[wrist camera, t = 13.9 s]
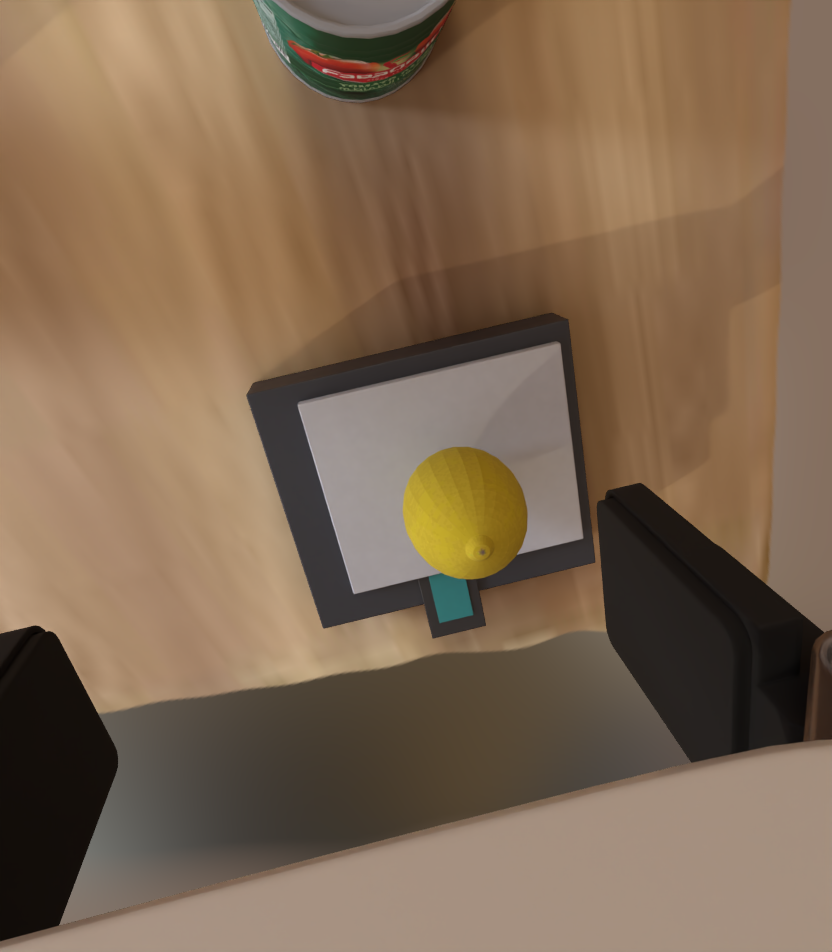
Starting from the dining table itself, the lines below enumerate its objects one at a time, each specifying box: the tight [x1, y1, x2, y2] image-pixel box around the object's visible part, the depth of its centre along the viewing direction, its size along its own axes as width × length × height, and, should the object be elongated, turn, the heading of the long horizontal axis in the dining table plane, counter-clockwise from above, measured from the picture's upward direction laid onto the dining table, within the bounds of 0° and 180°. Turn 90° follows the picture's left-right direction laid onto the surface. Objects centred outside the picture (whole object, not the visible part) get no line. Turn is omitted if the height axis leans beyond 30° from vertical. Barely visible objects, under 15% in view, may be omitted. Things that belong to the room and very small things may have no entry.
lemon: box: [403, 447, 528, 580], centre depth 28 cm, size 6×6×8 cm
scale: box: [247, 313, 595, 638], centre depth 34 cm, size 16×16×3 cm
